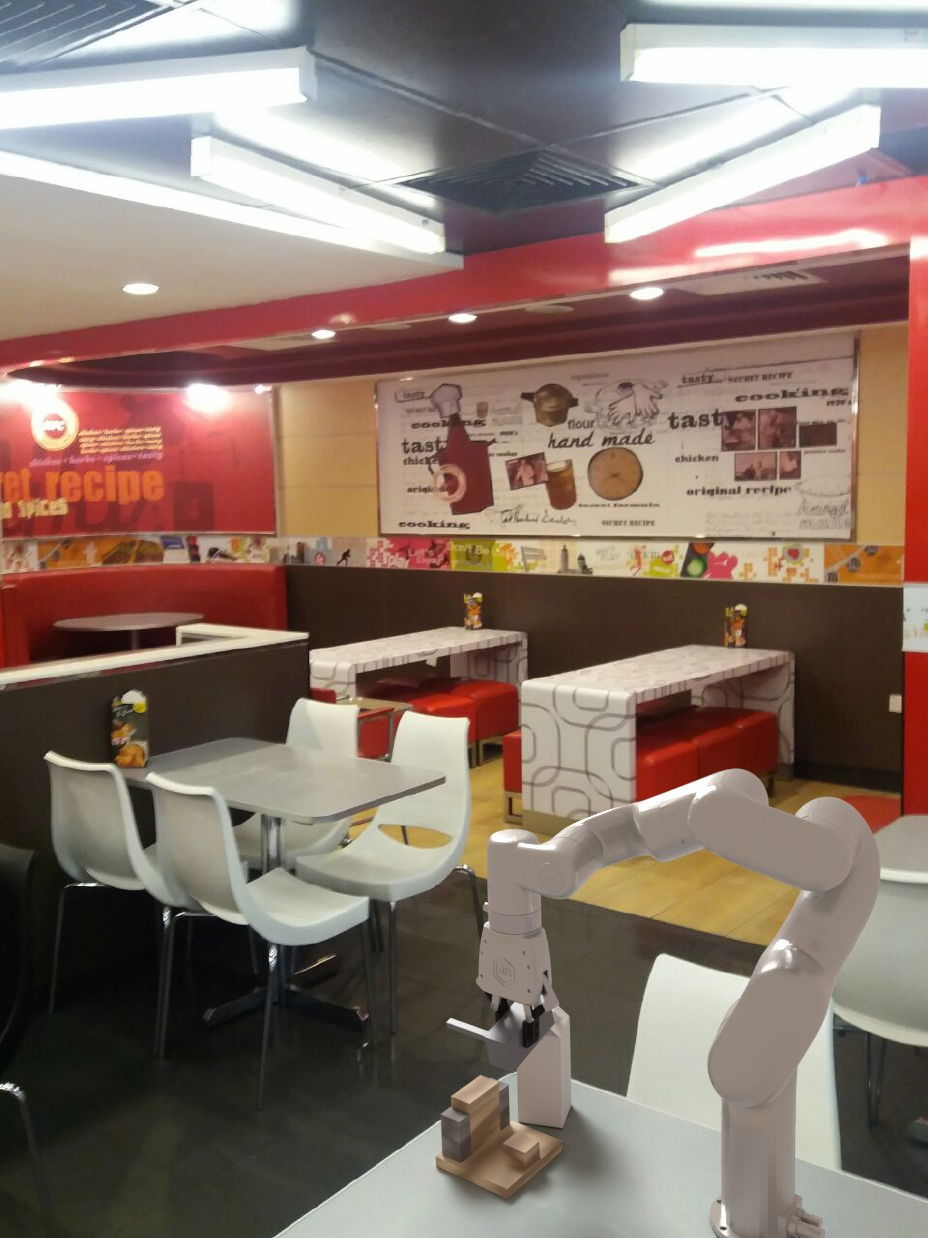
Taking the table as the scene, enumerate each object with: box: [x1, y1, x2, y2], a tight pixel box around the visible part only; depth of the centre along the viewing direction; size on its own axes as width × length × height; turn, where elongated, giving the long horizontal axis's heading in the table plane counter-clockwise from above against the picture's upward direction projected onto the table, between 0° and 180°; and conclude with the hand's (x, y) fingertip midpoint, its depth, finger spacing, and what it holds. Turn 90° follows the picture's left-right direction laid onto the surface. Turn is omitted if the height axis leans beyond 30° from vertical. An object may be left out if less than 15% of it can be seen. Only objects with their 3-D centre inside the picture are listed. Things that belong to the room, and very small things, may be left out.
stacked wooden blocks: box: [435, 1074, 563, 1200], centre depth 167 cm, size 13×14×10 cm
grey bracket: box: [446, 995, 555, 1074], centre depth 165 cm, size 11×11×5 cm
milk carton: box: [516, 1005, 572, 1129], centre depth 177 cm, size 7×7×19 cm
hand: (517, 1038), depth 162 cm, fingers closed on grey bracket, 4 cm apart
